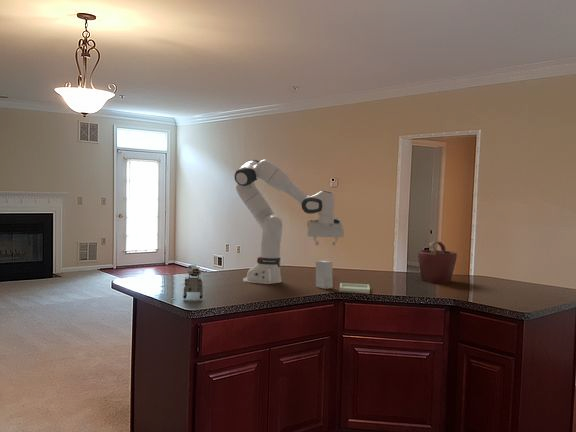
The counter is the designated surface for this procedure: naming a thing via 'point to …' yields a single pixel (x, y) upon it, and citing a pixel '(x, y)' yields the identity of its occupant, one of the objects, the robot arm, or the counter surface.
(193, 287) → the figurine
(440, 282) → the bucket
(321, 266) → the skincare box
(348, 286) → the sage tray
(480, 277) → the counter surface
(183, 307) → the counter surface
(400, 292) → the counter surface
